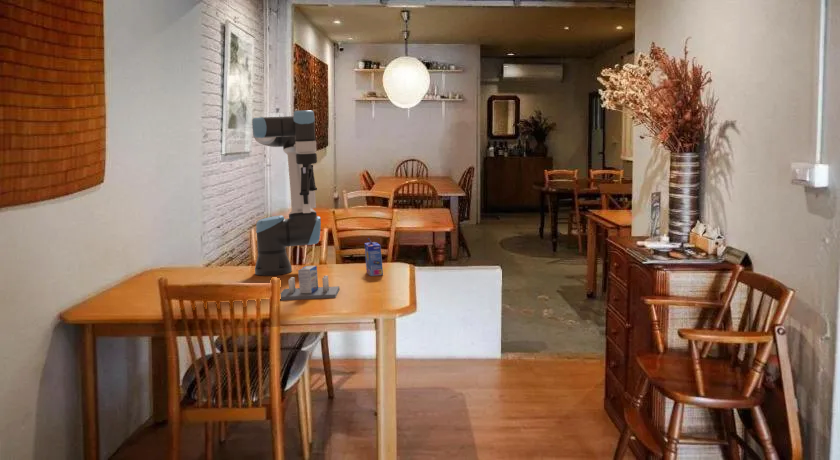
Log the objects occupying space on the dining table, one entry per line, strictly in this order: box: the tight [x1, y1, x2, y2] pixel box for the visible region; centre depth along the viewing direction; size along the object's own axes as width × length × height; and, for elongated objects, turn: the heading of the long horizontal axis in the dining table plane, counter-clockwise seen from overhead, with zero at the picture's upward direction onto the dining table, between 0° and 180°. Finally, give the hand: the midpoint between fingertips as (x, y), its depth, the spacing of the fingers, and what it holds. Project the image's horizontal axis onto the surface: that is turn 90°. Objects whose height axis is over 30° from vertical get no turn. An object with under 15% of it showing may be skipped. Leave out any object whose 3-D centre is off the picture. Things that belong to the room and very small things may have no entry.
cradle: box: [280, 275, 340, 301], centre depth 277 cm, size 14×20×6 cm
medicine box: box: [297, 265, 319, 294], centre depth 277 cm, size 8×4×9 cm, turn 169°
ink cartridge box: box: [364, 238, 384, 277], centre depth 312 cm, size 10×6×14 cm, turn 13°
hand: (309, 210), depth 289 cm, fingers open, 13 cm apart
